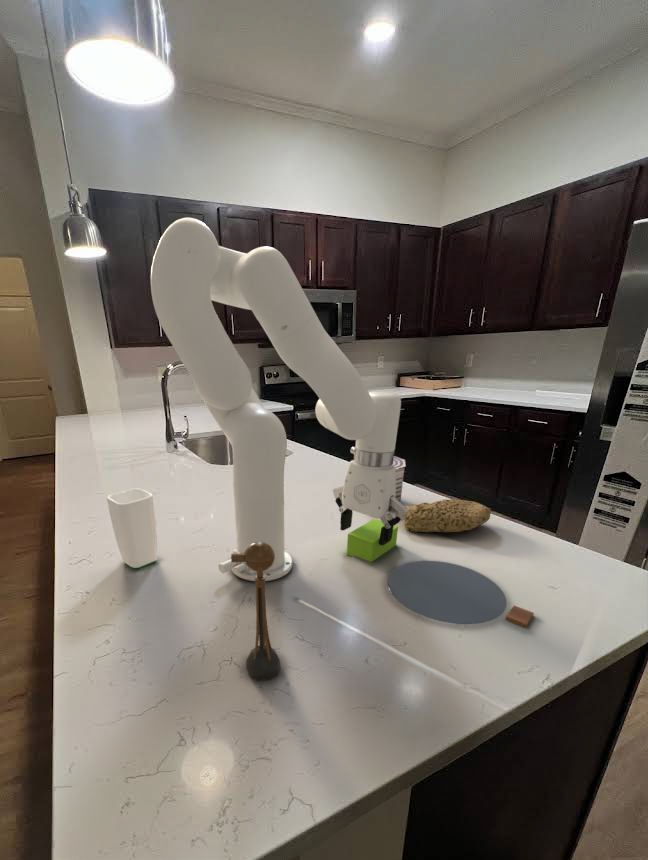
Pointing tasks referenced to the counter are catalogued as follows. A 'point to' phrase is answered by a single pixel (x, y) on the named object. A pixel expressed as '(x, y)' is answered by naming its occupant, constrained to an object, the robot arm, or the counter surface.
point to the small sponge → (369, 541)
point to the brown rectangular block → (519, 616)
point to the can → (399, 475)
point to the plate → (446, 592)
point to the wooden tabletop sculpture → (260, 612)
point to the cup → (134, 526)
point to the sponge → (446, 516)
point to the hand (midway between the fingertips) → (364, 535)
